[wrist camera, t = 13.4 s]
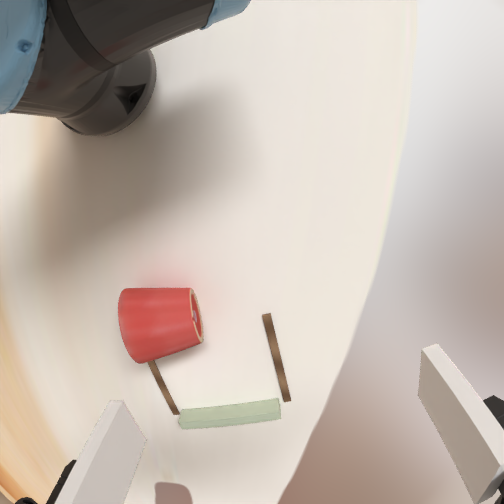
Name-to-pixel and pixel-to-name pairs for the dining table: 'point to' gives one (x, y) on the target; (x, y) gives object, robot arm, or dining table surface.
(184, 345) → the flower pot
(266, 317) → the guide strips
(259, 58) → the dining table surface
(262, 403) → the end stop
